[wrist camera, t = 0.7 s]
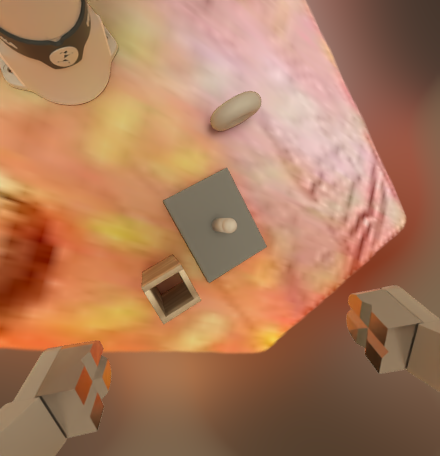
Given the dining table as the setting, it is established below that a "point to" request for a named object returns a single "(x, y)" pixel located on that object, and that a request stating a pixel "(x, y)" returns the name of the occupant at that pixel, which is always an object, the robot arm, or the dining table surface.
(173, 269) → the sleeve
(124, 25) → the dining table surface
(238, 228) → the post board
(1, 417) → the robot arm
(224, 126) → the donut
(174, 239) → the dining table surface
